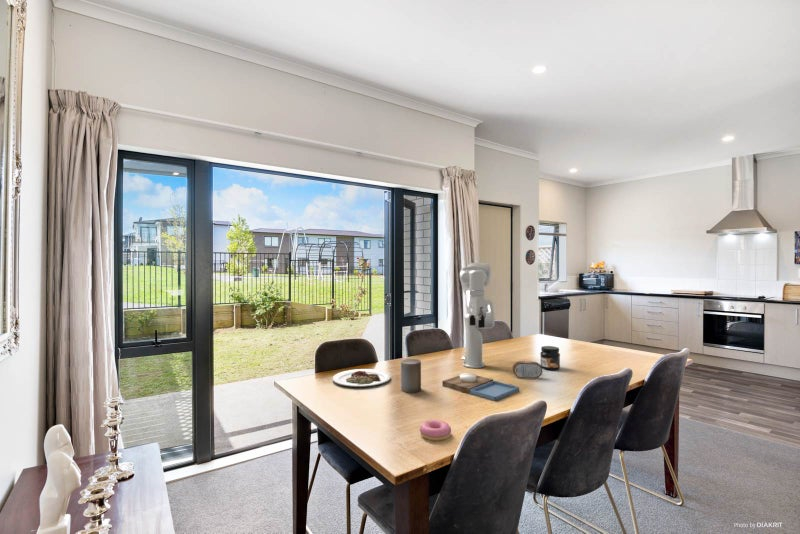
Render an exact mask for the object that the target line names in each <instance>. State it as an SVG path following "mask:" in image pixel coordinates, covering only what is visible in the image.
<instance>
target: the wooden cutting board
mask: <svg viewBox="0 0 800 534" xmlns="http://www.w3.org/2000/svg"><path fill="white" fill-rule="evenodd" d="M475 375H476V374H475ZM491 381H494V379H493V378H489V377H485V376H482V375H481V376H480V375H476V382H472V383H466V382H462V381H460V375H457V376H453V377H450V378H446V379H444V380H442V383H441V384H442V387H445V388H447V389H452V390H455V391H459V392H461V393H465V394H469V395H471V394H470V389H473V388H475V387H478V386H481V385H483V384H486V383H489V382H491Z"/></svg>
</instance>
